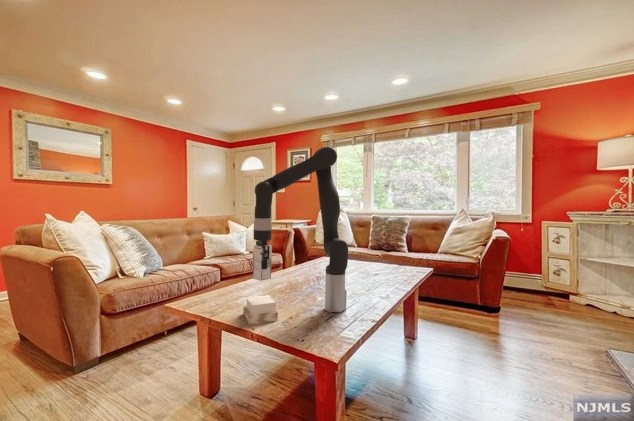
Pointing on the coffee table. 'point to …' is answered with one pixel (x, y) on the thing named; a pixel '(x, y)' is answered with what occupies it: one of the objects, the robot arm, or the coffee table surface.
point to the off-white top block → (261, 305)
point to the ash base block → (259, 317)
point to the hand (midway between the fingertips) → (261, 267)
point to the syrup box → (257, 264)
